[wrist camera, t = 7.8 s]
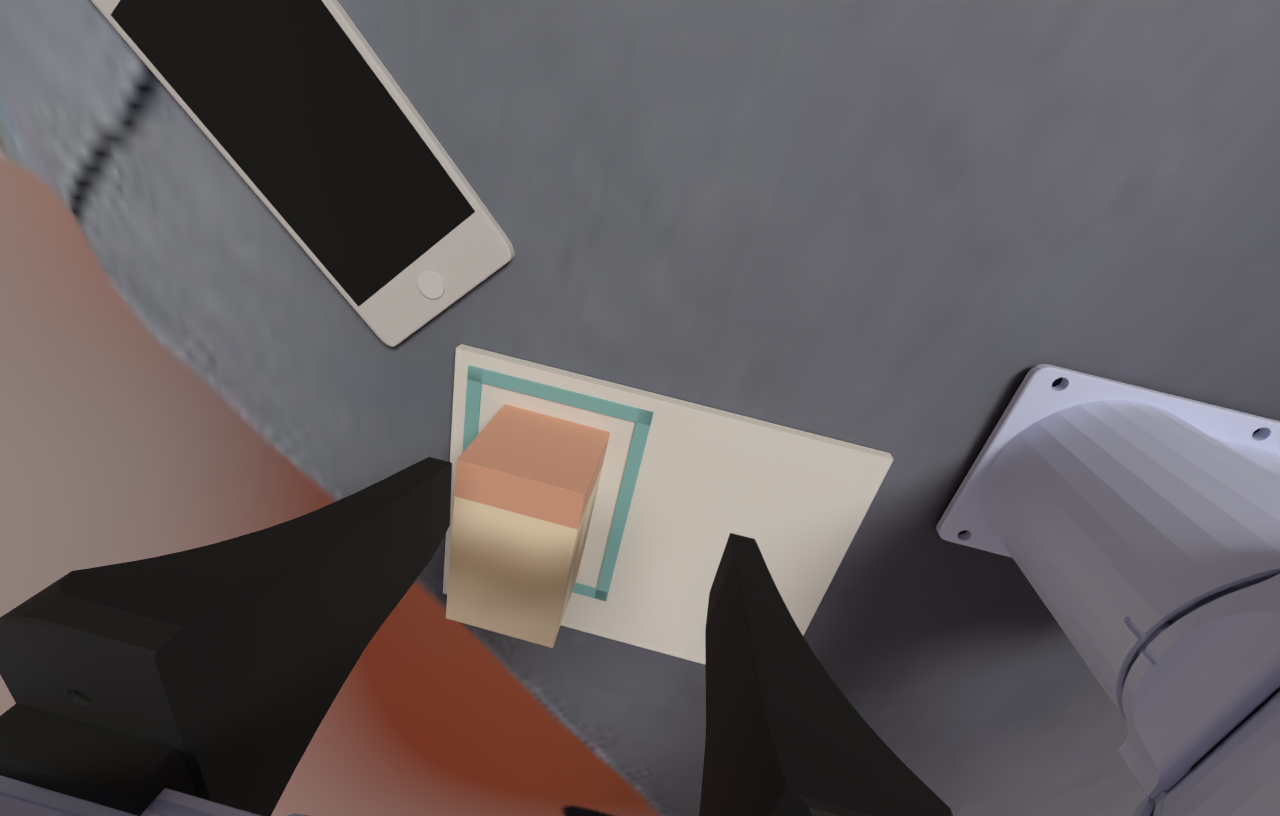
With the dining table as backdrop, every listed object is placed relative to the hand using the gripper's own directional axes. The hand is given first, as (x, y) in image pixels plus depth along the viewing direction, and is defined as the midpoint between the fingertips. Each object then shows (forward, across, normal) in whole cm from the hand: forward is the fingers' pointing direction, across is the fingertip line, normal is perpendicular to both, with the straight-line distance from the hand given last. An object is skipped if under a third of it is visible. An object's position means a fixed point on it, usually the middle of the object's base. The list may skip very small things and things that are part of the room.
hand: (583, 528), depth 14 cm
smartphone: (+10, +13, -7) cm, 18 cm away
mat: (+9, -1, +7) cm, 12 cm away
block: (+9, +3, +6) cm, 11 cm away
